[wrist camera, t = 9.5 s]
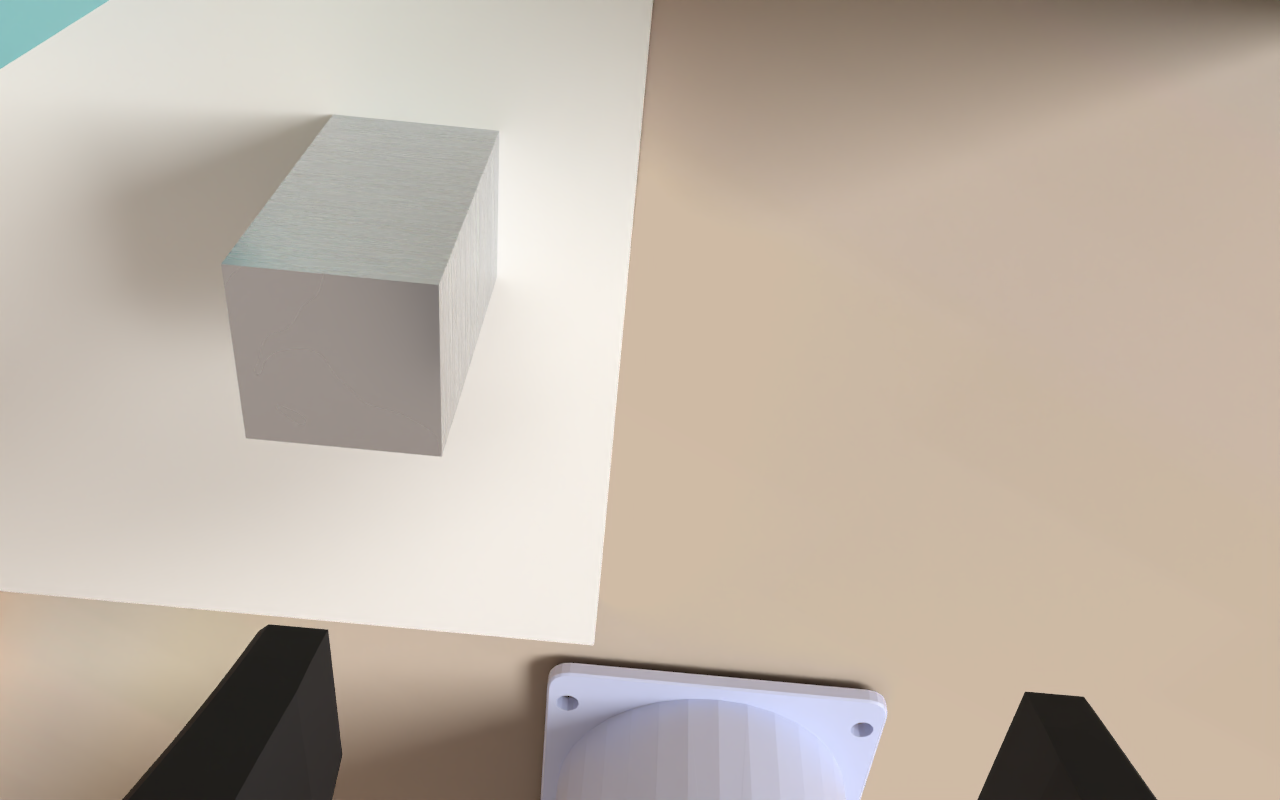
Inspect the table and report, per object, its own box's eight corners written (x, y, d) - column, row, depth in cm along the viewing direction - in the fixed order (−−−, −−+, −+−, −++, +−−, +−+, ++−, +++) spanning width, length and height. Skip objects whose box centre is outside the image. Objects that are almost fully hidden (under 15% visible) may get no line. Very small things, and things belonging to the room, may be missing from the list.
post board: (598, 595, 25) (593, 645, 24) (-26, 538, 25) (-64, 585, 24) (704, -570, 14) (705, -589, 13) (-441, -694, 14) (-555, -727, 12)
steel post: (496, 277, 19) (441, 456, 15) (343, 262, 19) (245, 438, 15) (499, 130, 17) (438, 285, 13) (332, 114, 17) (221, 264, 13)
